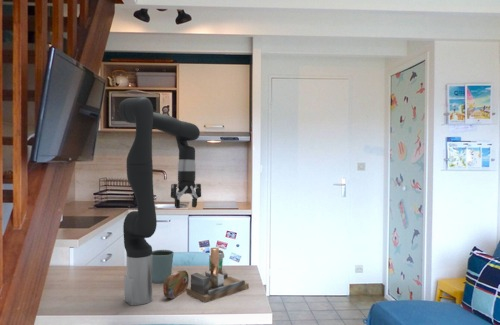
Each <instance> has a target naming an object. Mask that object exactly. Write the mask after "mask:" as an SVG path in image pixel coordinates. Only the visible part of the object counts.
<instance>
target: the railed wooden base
mask: <svg viewBox="0 0 500 325" xmlns="http://www.w3.org/2000/svg"><path fill="white" fill-rule="evenodd" d="M222 275H224V286H222V287H219V288H213V287H211V288H210V289H209V277H207V276H205V275H204V274H201V273H198V272H196V273H191V274H190V287H187V289H186V294H187V295H188V296H191V297H193V298H195V299H197V300H199V301H202V302H204V303H208V302H210V301H213V300H214V301H215V300H216V299H220V298H222V297H226V296H230V295H232V294H233V295H234V294H235V293H238V292H241V291H244V290H248V289H249V286H250V285H249V283H248V282H246V280H244V279H242V280H240V279H237V278H235V277H232V276H228V273H224V274H223V273H222Z"/></svg>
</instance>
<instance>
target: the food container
mask: <svg viewBox="0 0 500 325" xmlns="http://www.w3.org/2000/svg"><path fill="white" fill-rule="evenodd" d="M208 257H209V260H208V261H209V262H208V264H209V270H208V271H210V263H211V255H209V256H208ZM224 258H225V254H224V251H223V250H221V249H219V274H222V275H223V261H224Z"/></svg>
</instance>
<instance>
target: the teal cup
mask: <svg viewBox="0 0 500 325" xmlns="http://www.w3.org/2000/svg"><path fill="white" fill-rule="evenodd" d="M173 258H174V251H173V250H170V249H157V250H152V283H154V284H164V281H165V279H166V278H167V277H168V276H170V275H172V271H173V262H174V261H173V260H174V259H173Z"/></svg>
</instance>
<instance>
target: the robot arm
mask: <svg viewBox="0 0 500 325" xmlns="http://www.w3.org/2000/svg"><path fill="white" fill-rule="evenodd" d="M153 106H154V105H153V104H152V101H151V100H150V99H149V98H148V97H146V96H137V97H129V98H125V99H123V100H122V101H120V103H119V105H118V115H119V116H120V118H121V119H122V120H123V121H124V122H126V123H129V124H135V136H134V137H135V138H134V140H133V143H132V145H131V147H130V149H129V151H128V154H127V157H126V161H125V162H126V178H127V182H128V184H129V185H130V188H131V190H132V192H133V194H134V196H135V200H136V204H137V205H136V206H137V210H133V211H130V212H129V213H127V214H126V216H125V217H124V220H123V225H122V230H123V231H122V232H123V246H124V250H125V252H126V274H125V275H124V277H123V278H124V280H123V281H124V282H123V283H124V288H123V291H124V292H123V293H124V295H123V296H124V298H123V299H124V300H123V301H124V302H126V303H127V304H129V306H137V305H145V304H148V303H150V302H151V301H152V300H153V282H152V251H153V248H152V245H151V244H150V243H149V242H147V240H146V239H148V238H151V237H152V236H153V235H154V234H155V232H156V230H157V225H158V224H157V213H156V211H157V210H156V205H155V196H154V180H153V178H154V176H153V175H154V172H153V171H154V170H153V168H154V167H153V140H152V139H153V129H155V130H158V131H161V132H163V133H166V134H168V135H171V136H174V137H175V140H176V143H177V148H178V163H177V182H178V183H171V185H170V186H171V188H170V198H172V199H173V200H174V208H175V209H180V208H181V204H180V203H181V200H180V199H181V197H182V196H183V195H186V194H189V195H190V196H191V197H192V199H191V207H192V208H197V205H198V199H199V198H202V185H201V183H195V181H196V149H195V147H194V146H191V145H189V143H188V141H189V142H191V141H196V140H197V139H198V138H200V132H201V131H200V129H199V127H198V125H196V124H195V123H191V122H188V121H182V120H179V119H177V118H176V117H173V116H171V115H167V114H164V113H159V112H155V111H154V107H153Z"/></svg>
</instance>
